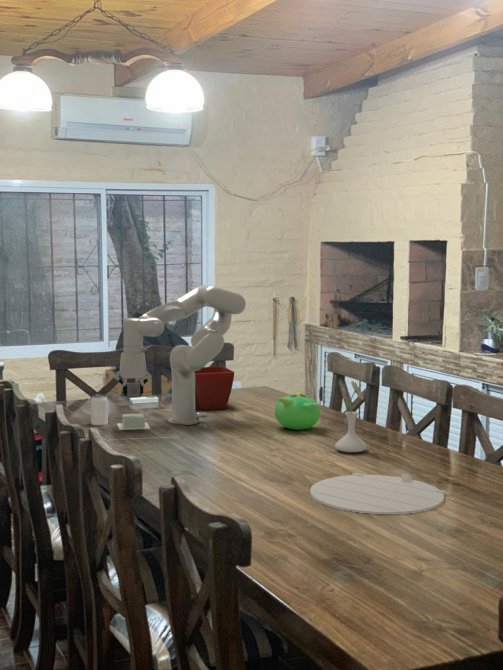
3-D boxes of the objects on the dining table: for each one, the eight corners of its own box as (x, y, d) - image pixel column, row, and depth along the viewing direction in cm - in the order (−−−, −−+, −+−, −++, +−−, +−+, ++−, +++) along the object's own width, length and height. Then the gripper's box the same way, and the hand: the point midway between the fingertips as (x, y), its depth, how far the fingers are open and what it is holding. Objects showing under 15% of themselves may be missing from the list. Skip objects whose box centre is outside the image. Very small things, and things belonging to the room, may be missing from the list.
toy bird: (320, 425, 365) (321, 389, 364) (319, 434, 348) (320, 397, 347) (275, 424, 367) (276, 388, 365) (272, 433, 350) (273, 395, 349)
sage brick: (142, 423, 361) (142, 413, 361) (144, 427, 354) (144, 417, 353) (122, 424, 360) (122, 414, 359) (124, 428, 352) (124, 418, 351)
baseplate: (146, 424, 364) (146, 422, 364) (150, 430, 352) (150, 428, 352) (116, 425, 361) (116, 423, 361) (119, 431, 350) (119, 429, 349)
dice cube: (127, 397, 353) (127, 385, 352) (125, 395, 358) (125, 382, 357) (140, 397, 354) (140, 384, 353) (138, 395, 359) (138, 382, 358)
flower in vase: (365, 455, 316) (367, 384, 313) (333, 453, 318) (334, 383, 315) (368, 447, 328) (370, 379, 326) (337, 445, 330) (338, 377, 328)
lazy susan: (358, 471, 296) (358, 461, 296) (468, 493, 271) (468, 482, 271) (283, 497, 265) (283, 486, 265) (400, 525, 241) (401, 512, 240)
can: (106, 427, 357) (105, 397, 356) (89, 427, 357) (89, 397, 356) (109, 424, 364) (108, 394, 362) (92, 423, 364) (92, 394, 363)
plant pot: (182, 404, 408) (182, 367, 406) (223, 402, 414) (223, 366, 412) (192, 412, 390) (192, 373, 388) (234, 410, 396) (235, 372, 394)
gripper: (153, 348, 359) (153, 393, 361) (110, 348, 355) (110, 394, 357) (156, 350, 352) (156, 396, 354) (111, 351, 348) (111, 397, 350)
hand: (133, 395), depth 355 cm, fingers closed on dice cube, 5 cm apart
